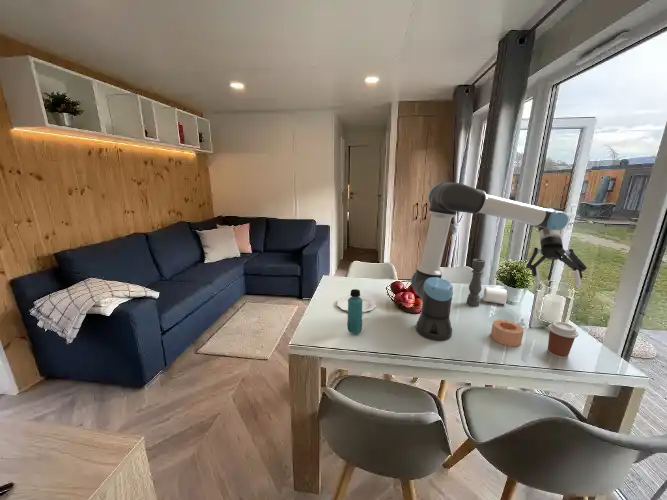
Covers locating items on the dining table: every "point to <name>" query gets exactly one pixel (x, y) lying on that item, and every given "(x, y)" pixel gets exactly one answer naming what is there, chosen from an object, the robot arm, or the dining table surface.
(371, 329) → the dining table surface
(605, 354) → the dining table surface
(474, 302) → the candle holder
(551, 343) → the coffee cup
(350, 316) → the beverage bottle
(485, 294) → the mug
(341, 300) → the plate
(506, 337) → the terracotta bowl
